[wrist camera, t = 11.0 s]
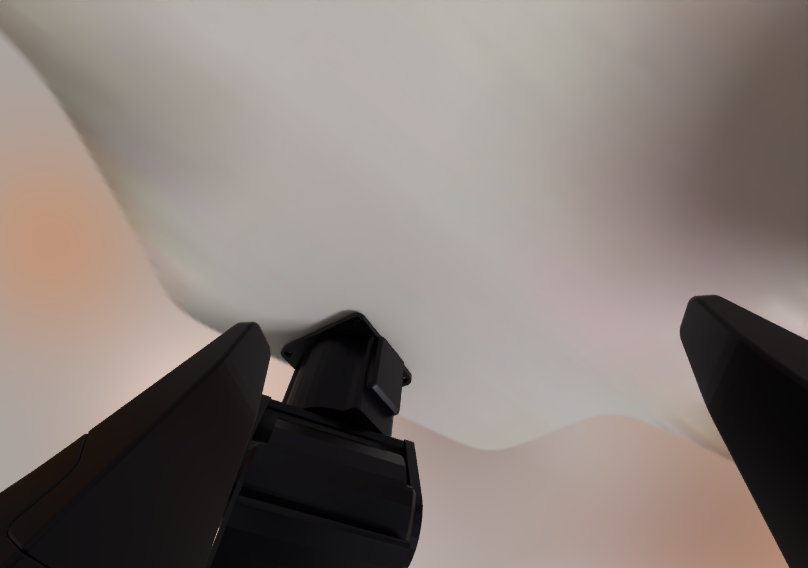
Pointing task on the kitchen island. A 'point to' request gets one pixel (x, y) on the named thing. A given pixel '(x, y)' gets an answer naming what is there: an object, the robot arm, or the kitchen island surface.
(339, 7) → the kitchen island surface
